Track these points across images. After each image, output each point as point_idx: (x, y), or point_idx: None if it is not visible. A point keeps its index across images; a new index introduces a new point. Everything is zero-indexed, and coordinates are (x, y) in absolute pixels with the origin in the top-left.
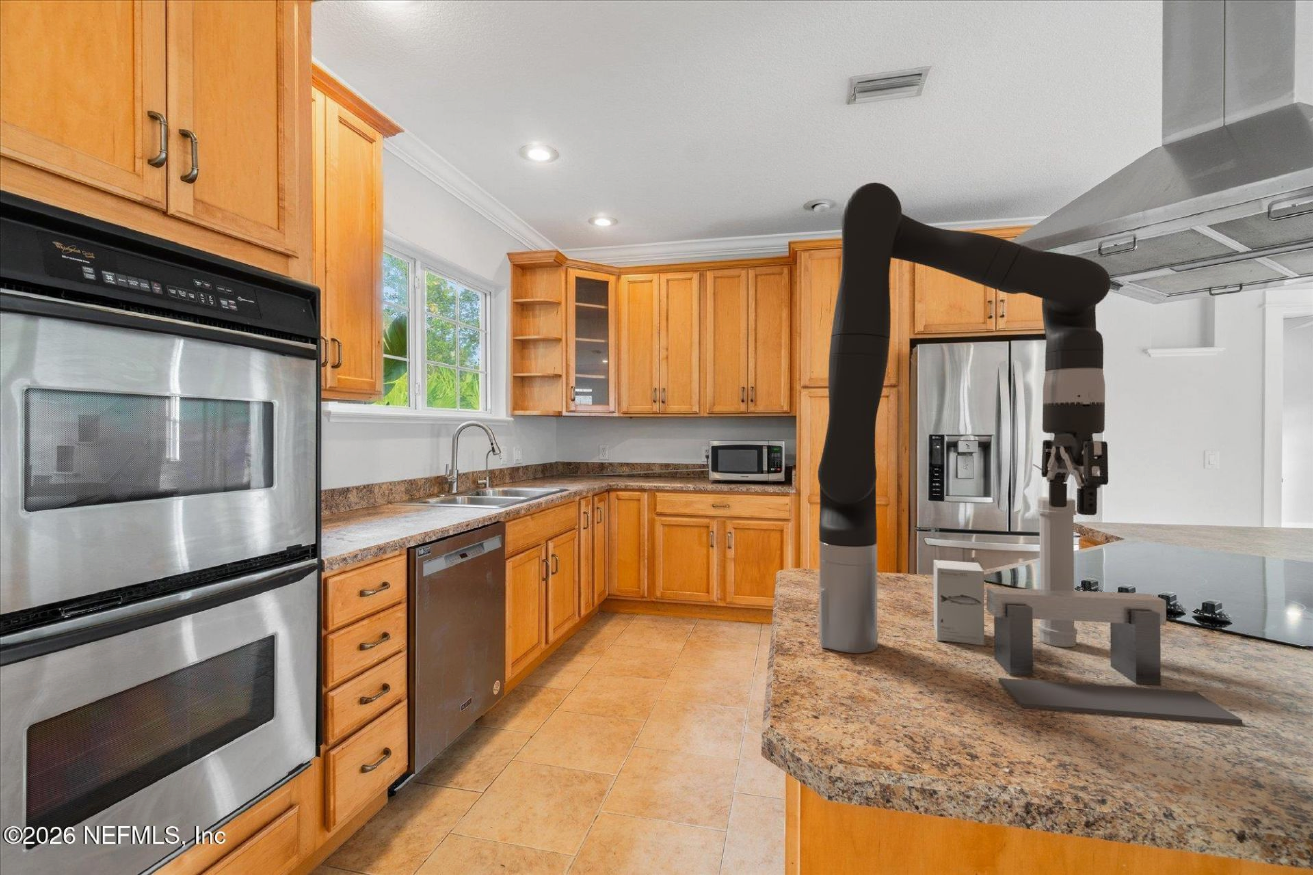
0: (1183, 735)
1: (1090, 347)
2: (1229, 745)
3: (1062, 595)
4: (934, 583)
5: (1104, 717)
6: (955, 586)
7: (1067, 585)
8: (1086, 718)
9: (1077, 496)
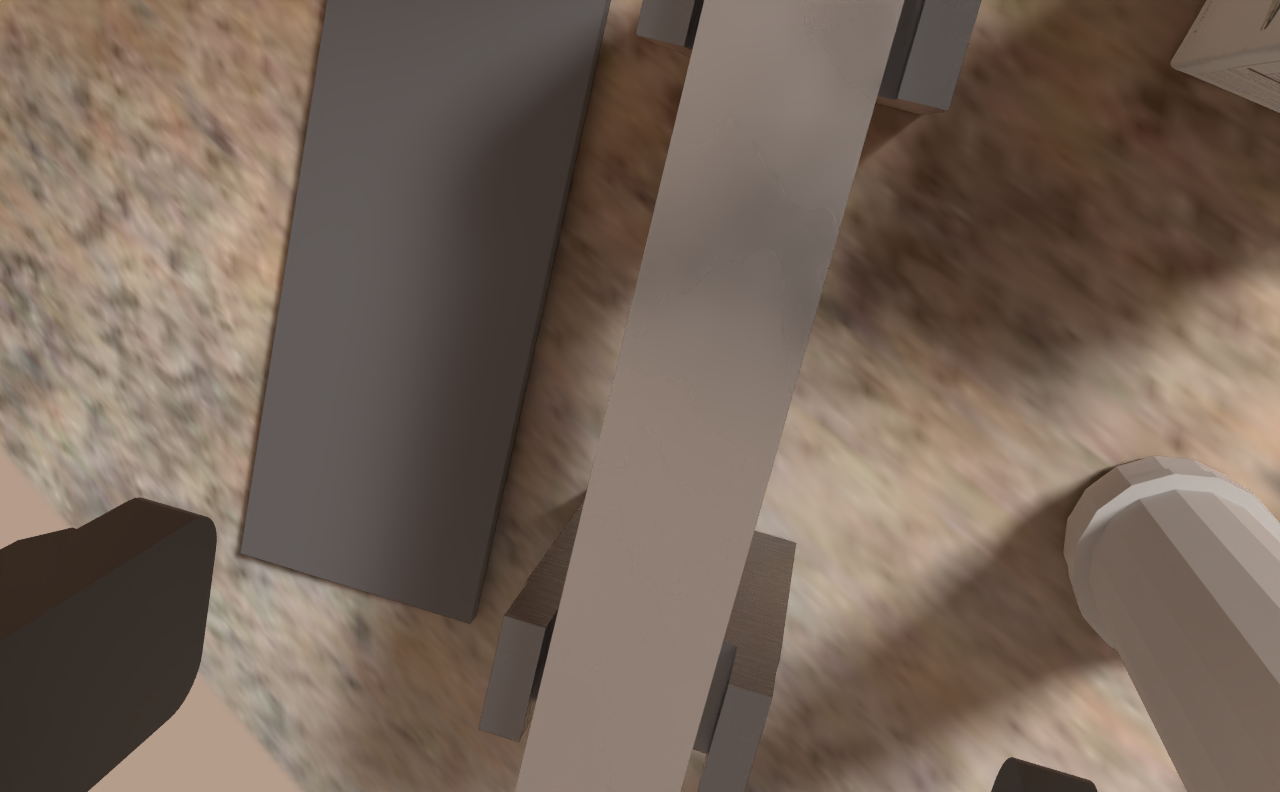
0: (170, 269)
1: None
2: (113, 361)
3: (656, 294)
4: None
5: (295, 86)
6: None
7: (1161, 707)
8: (285, 2)
9: (43, 606)
